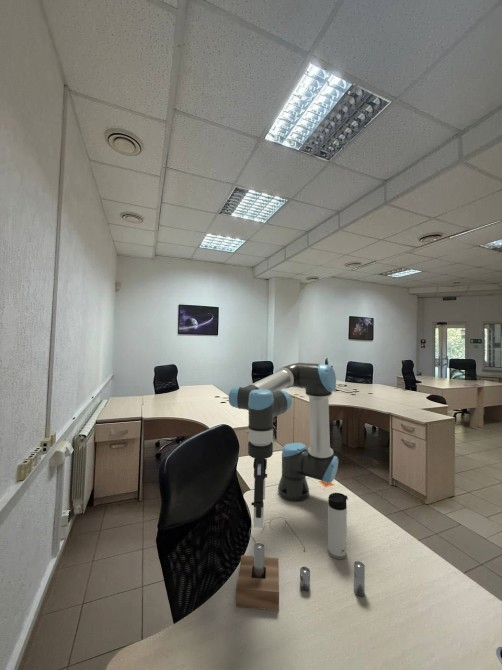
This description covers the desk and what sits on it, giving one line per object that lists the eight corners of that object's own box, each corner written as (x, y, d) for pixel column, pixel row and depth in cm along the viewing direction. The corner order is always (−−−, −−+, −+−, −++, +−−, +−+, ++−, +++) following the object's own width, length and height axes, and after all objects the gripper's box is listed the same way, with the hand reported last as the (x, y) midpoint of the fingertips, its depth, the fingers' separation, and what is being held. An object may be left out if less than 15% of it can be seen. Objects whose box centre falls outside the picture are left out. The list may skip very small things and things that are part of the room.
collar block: (241, 570, 89) (241, 555, 89) (278, 573, 88) (278, 558, 88) (236, 606, 77) (236, 588, 77) (278, 610, 76) (279, 592, 76)
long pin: (253, 585, 84) (254, 542, 84) (263, 586, 84) (264, 543, 84) (253, 594, 81) (253, 549, 81) (263, 595, 81) (263, 550, 81)
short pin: (299, 582, 85) (299, 566, 85) (309, 583, 85) (309, 567, 85) (300, 591, 82) (300, 574, 82) (310, 592, 82) (310, 575, 82)
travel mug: (348, 561, 94) (348, 502, 94) (328, 557, 95) (328, 499, 95) (346, 547, 100) (346, 492, 100) (327, 544, 101) (327, 489, 101)
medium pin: (352, 587, 84) (352, 560, 84) (362, 588, 84) (362, 561, 84) (355, 596, 81) (355, 568, 81) (366, 597, 81) (366, 569, 81)
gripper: (251, 427, 97) (251, 488, 96) (243, 458, 72) (242, 540, 71) (273, 428, 96) (272, 489, 96) (272, 460, 71) (271, 542, 71)
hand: (259, 511), depth 84 cm, fingers open, 13 cm apart
